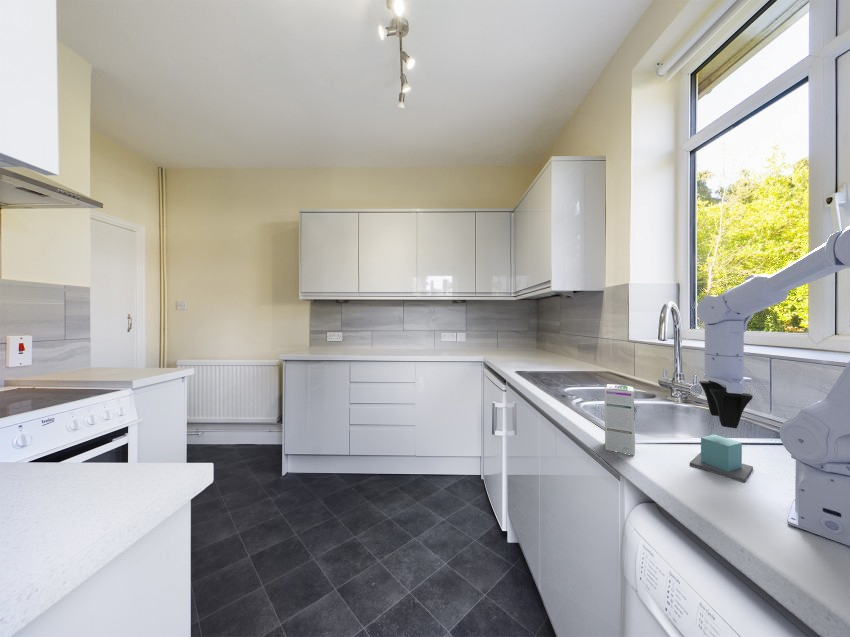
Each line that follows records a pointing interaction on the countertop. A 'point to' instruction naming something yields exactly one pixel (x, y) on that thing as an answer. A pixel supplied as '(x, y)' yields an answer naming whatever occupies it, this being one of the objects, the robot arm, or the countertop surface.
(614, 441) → the syrup box
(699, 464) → the mat
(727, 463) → the teal block
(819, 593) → the countertop surface
